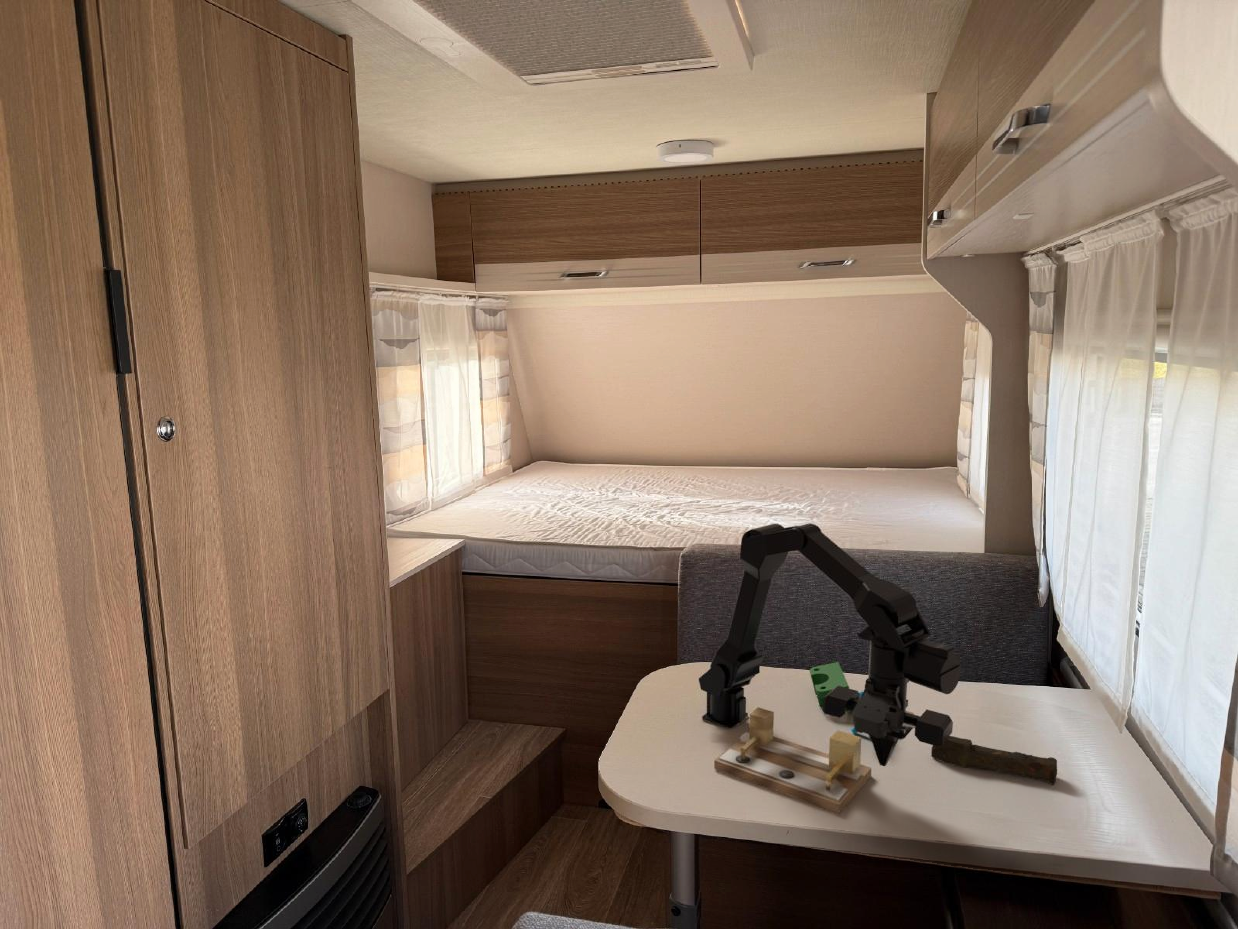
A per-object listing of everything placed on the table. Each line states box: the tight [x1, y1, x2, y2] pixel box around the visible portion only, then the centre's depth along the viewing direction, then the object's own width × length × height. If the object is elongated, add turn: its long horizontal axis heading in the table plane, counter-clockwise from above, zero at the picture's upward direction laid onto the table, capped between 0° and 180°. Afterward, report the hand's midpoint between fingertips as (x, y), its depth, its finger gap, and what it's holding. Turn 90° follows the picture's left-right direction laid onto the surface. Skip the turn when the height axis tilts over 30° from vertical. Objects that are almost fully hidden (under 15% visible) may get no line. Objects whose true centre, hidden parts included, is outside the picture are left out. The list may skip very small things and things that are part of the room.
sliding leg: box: [825, 730, 862, 789], centre depth 136 cm, size 4×8×6 cm, turn 143°
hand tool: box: [930, 735, 1058, 786], centre depth 141 cm, size 19×4×5 cm, turn 64°
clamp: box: [809, 661, 853, 713], centre depth 166 cm, size 12×6×9 cm, turn 170°
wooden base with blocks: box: [713, 707, 872, 814], centre depth 141 cm, size 22×13×8 cm, turn 53°
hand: (883, 765), depth 134 cm, fingers closed
